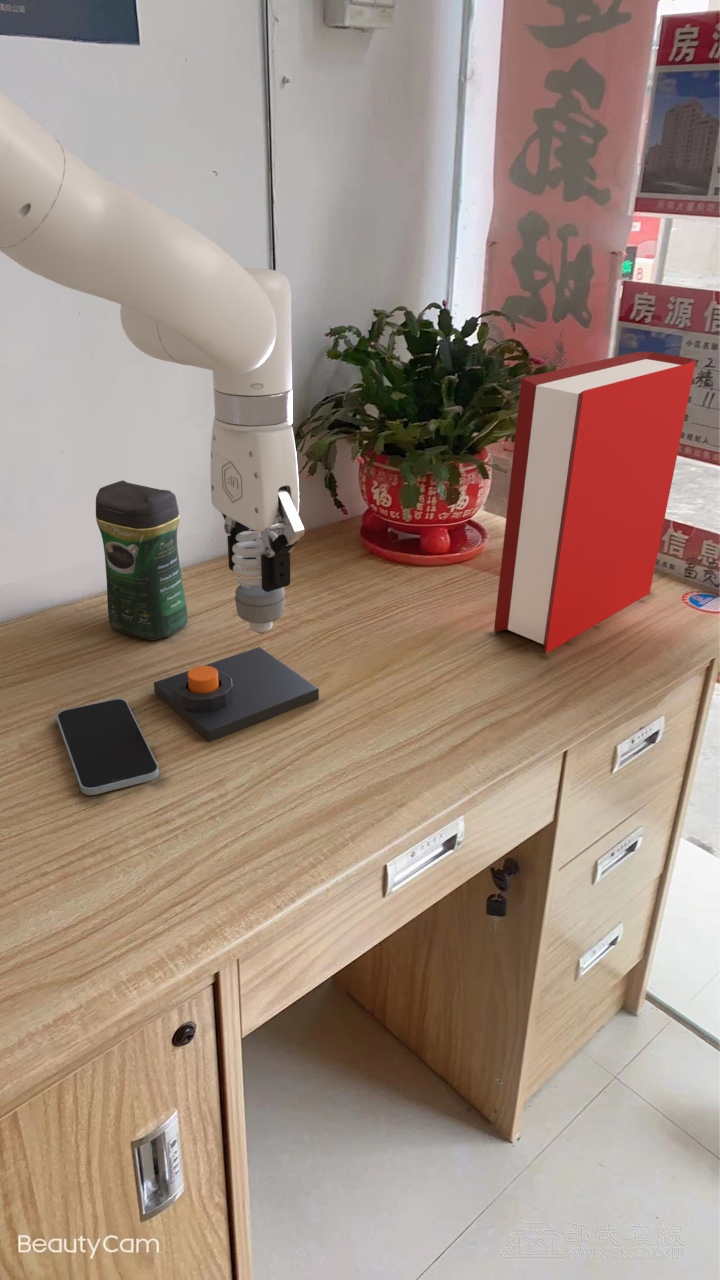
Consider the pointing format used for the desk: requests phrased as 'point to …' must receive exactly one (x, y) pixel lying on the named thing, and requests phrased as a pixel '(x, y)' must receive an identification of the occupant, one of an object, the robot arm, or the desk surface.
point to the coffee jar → (141, 560)
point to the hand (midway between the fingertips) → (259, 576)
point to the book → (589, 491)
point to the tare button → (203, 679)
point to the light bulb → (255, 585)
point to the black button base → (238, 694)
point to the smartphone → (106, 746)
